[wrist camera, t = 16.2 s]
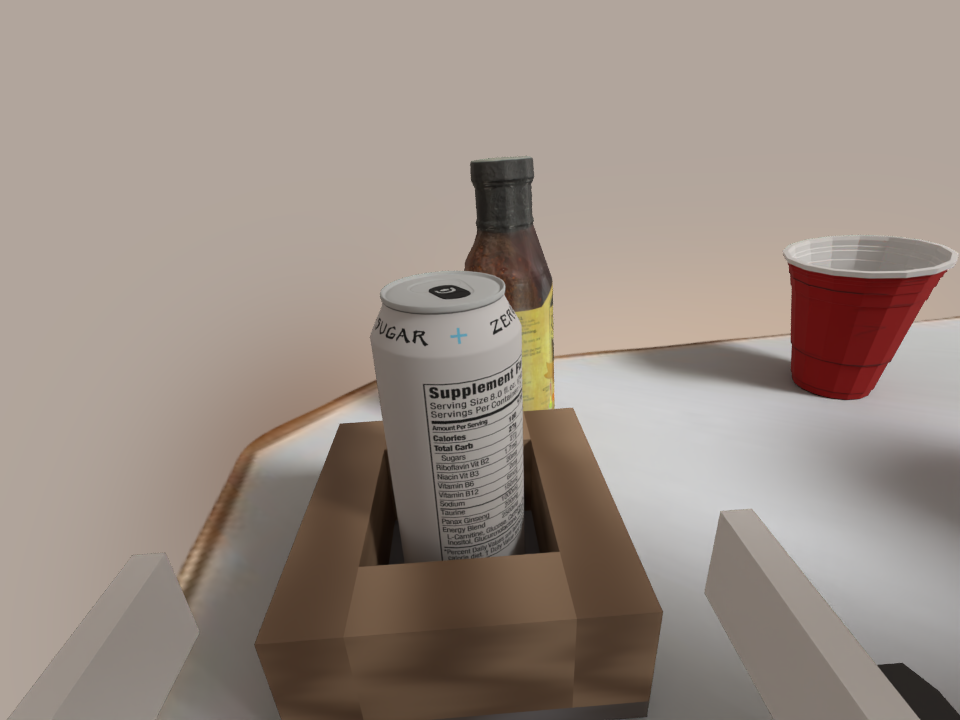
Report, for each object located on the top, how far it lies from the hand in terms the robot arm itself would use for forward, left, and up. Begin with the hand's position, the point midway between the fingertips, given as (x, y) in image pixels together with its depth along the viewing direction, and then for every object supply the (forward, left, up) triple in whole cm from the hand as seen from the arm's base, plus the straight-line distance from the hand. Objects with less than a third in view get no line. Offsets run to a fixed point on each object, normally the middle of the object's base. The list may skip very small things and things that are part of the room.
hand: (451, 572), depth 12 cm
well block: (0, -10, -12) cm, 15 cm away
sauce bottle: (-4, -25, -12) cm, 28 cm away
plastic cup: (-32, -28, -12) cm, 44 cm away
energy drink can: (0, -10, -11) cm, 15 cm away
